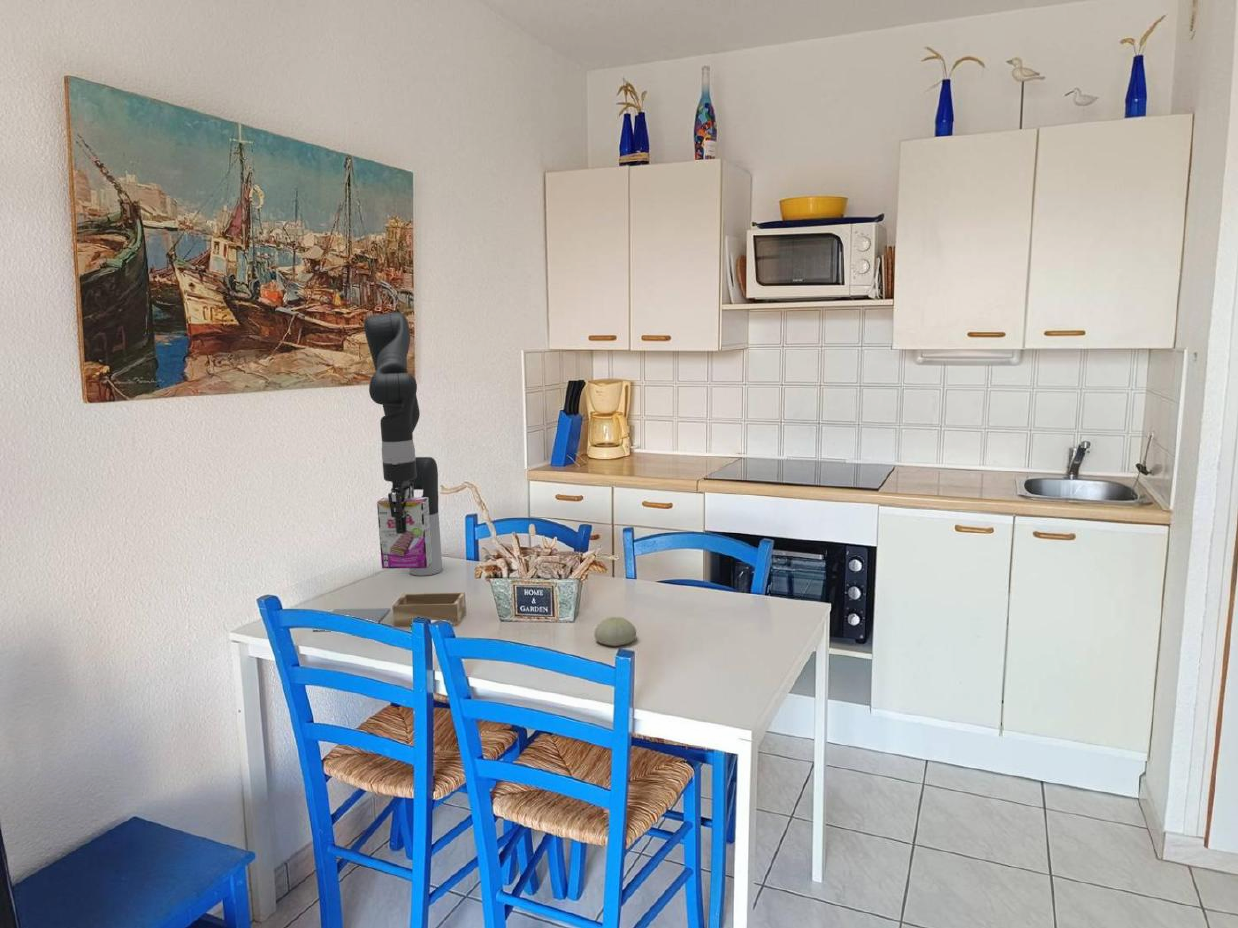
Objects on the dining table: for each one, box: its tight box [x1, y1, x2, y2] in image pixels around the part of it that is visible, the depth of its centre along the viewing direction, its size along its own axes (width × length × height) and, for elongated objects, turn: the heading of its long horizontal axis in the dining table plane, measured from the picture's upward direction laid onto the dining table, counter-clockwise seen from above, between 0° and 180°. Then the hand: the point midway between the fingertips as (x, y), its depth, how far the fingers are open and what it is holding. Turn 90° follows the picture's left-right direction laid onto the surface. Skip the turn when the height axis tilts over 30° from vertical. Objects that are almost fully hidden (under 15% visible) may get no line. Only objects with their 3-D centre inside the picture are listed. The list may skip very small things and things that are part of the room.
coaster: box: [312, 607, 391, 632], centre depth 206 cm, size 14×14×1 cm
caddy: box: [392, 592, 467, 627], centre depth 205 cm, size 9×15×5 cm, turn 88°
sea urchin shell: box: [594, 616, 637, 647], centre depth 187 cm, size 9×8×8 cm
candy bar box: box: [376, 496, 433, 570], centre depth 203 cm, size 11×5×16 cm, turn 86°
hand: (404, 529), depth 202 cm, fingers closed on candy bar box, 5 cm apart
